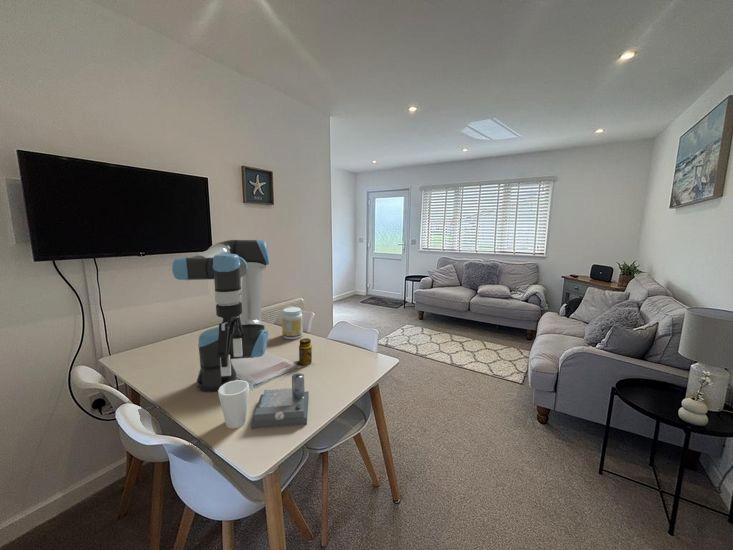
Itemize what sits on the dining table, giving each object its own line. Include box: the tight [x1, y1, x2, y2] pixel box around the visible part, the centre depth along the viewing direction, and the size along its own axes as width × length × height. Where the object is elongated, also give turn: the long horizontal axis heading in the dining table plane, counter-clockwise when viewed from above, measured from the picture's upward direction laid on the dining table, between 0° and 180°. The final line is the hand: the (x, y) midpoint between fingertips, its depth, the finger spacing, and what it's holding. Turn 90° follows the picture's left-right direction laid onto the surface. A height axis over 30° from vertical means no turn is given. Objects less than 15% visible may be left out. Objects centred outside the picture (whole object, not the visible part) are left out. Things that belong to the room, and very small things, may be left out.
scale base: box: [251, 390, 310, 430], centre depth 106 cm, size 18×16×6 cm
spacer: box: [291, 372, 305, 400], centre depth 108 cm, size 4×4×8 cm
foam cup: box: [217, 379, 250, 429], centre depth 99 cm, size 10×9×13 cm
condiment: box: [292, 337, 315, 369], centre depth 143 cm, size 7×8×12 cm
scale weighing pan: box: [259, 387, 306, 408], centre depth 108 cm, size 15×11×2 cm
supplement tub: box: [281, 306, 304, 340], centre depth 177 cm, size 12×12×17 cm
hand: (232, 365), depth 97 cm, fingers open, 13 cm apart
